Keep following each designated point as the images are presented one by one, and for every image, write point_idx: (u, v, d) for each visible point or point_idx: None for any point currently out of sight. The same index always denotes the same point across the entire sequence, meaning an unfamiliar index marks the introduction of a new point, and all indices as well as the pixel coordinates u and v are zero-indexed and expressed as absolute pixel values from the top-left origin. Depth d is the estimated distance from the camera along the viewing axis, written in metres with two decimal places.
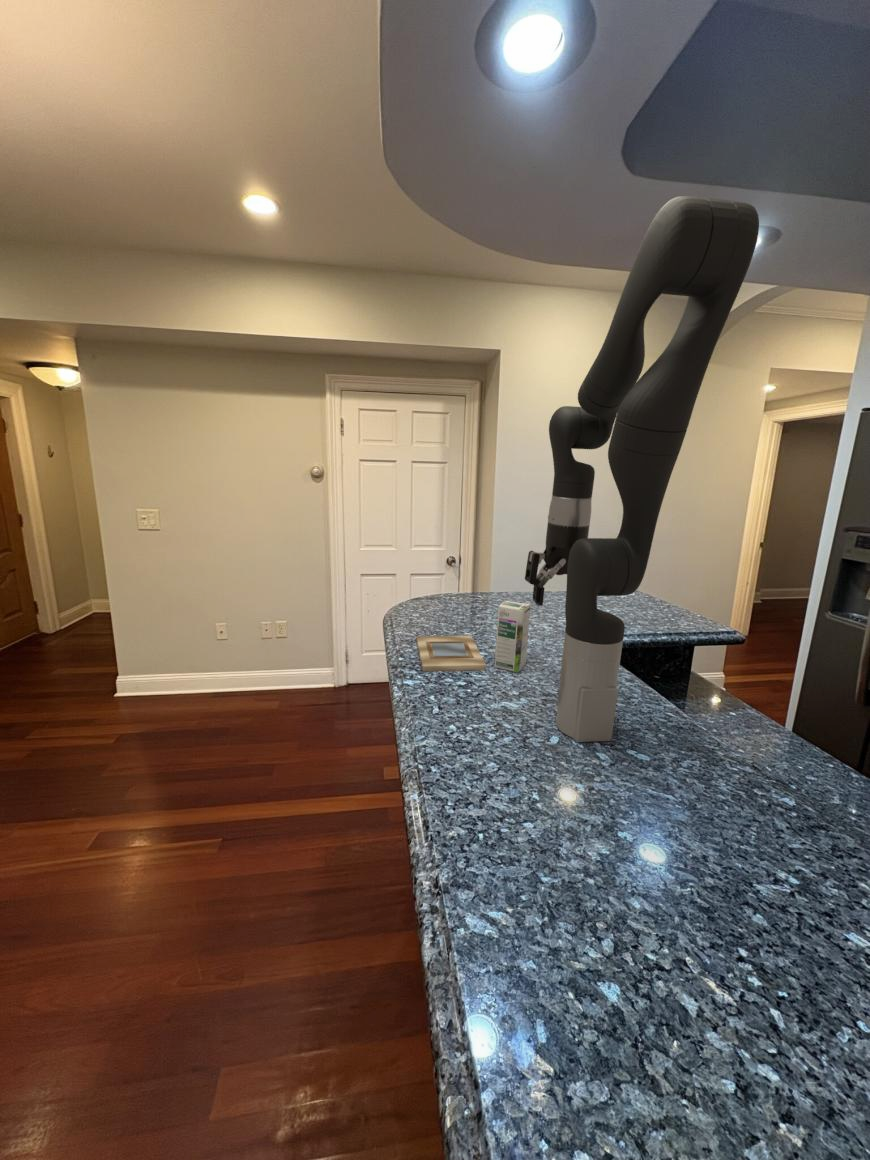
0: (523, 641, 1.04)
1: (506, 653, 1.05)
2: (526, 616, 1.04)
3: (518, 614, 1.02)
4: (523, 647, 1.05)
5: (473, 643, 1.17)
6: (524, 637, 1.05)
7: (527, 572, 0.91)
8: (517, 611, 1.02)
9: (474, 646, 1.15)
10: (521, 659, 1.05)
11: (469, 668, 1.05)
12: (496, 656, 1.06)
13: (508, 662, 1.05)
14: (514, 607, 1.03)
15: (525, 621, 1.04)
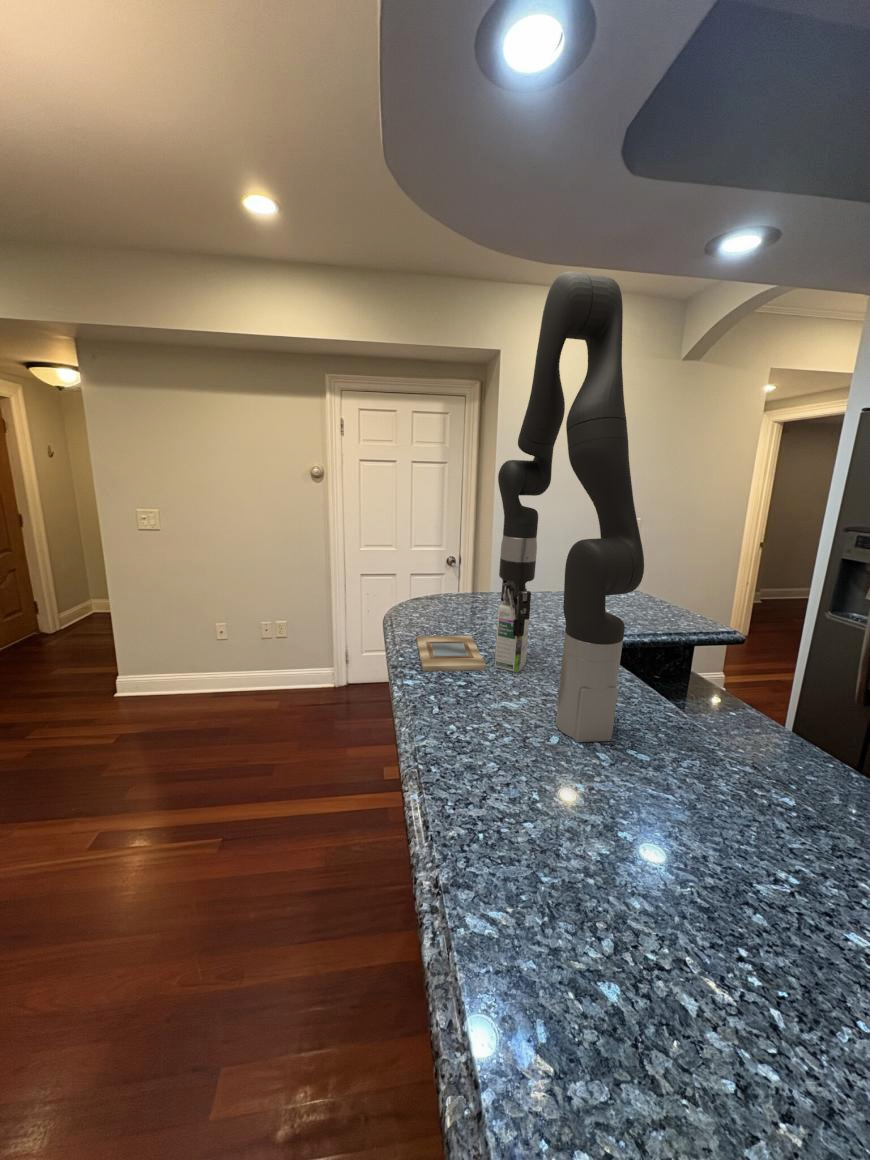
0: (523, 641, 1.04)
1: (506, 653, 1.05)
2: None
3: None
4: (523, 647, 1.05)
5: (473, 643, 1.17)
6: (524, 637, 1.05)
7: None
8: None
9: (474, 646, 1.15)
10: (521, 659, 1.05)
11: (469, 668, 1.05)
12: (496, 656, 1.06)
13: (508, 662, 1.05)
14: None
15: (525, 621, 1.04)
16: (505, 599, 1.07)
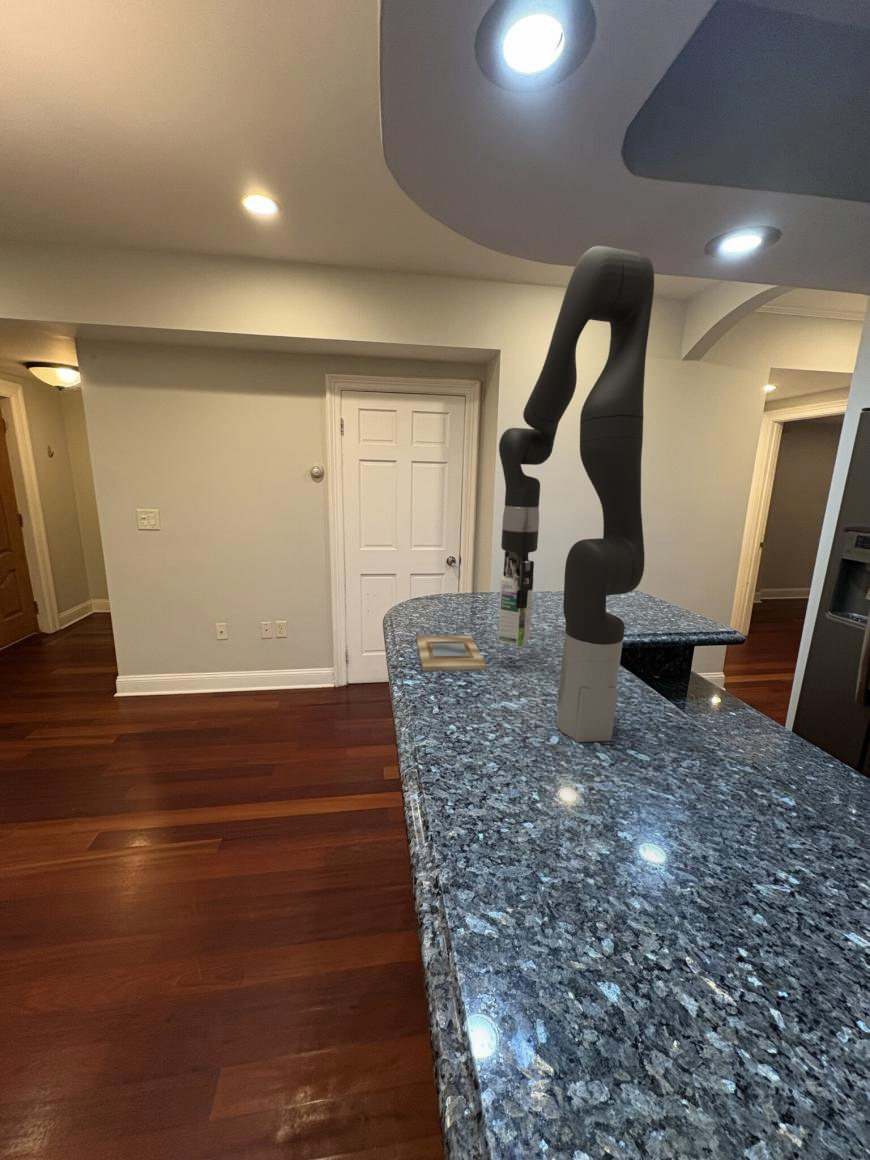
0: (526, 614, 1.03)
1: (509, 627, 1.03)
2: None
3: None
4: (526, 621, 1.03)
5: (473, 643, 1.17)
6: (527, 610, 1.03)
7: None
8: None
9: (474, 646, 1.15)
10: (525, 633, 1.03)
11: (469, 668, 1.05)
12: (499, 630, 1.04)
13: (511, 636, 1.03)
14: None
15: (528, 594, 1.02)
16: (508, 573, 1.05)
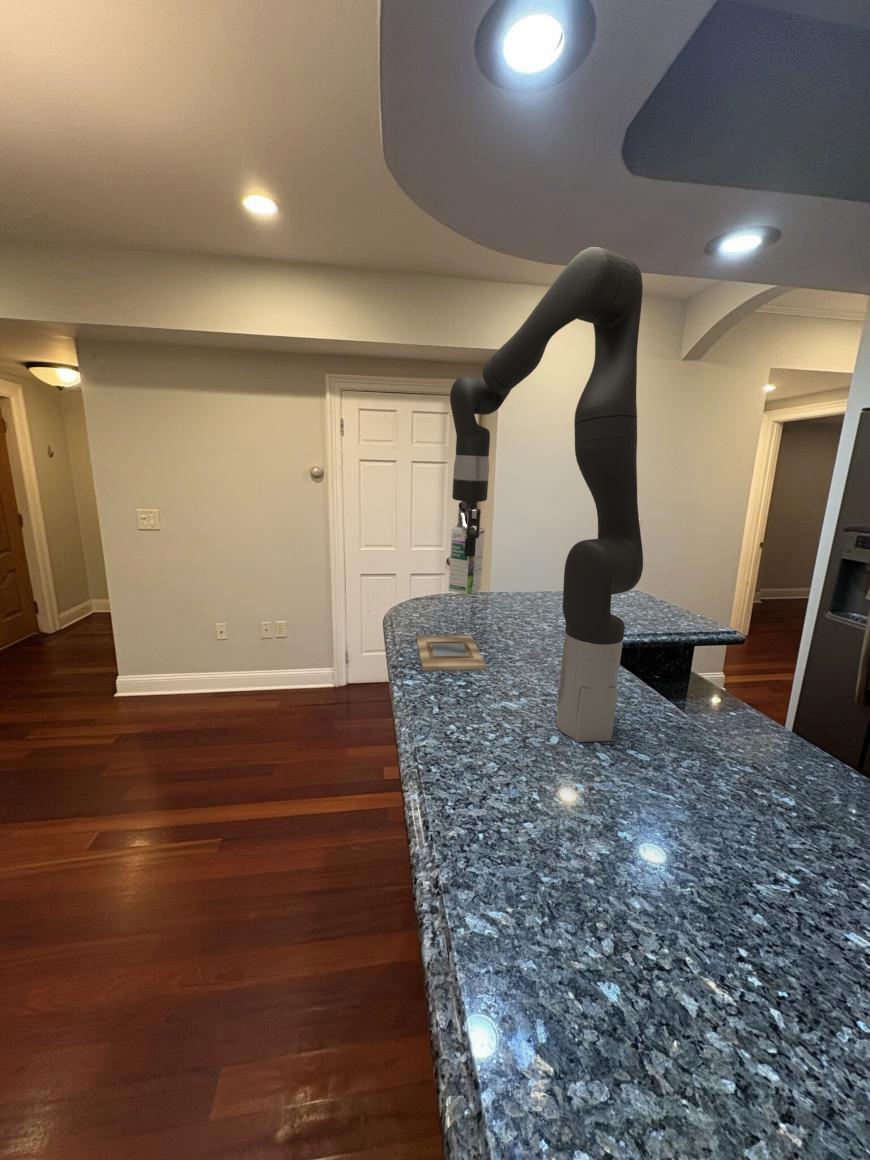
0: (476, 563, 1.05)
1: (459, 575, 1.05)
2: (479, 538, 1.04)
3: None
4: (476, 570, 1.06)
5: (473, 643, 1.17)
6: (477, 560, 1.05)
7: (469, 529, 0.98)
8: None
9: (474, 646, 1.15)
10: (474, 581, 1.06)
11: (469, 668, 1.05)
12: (450, 579, 1.07)
13: (461, 584, 1.06)
14: None
15: (478, 543, 1.04)
16: (460, 523, 1.08)
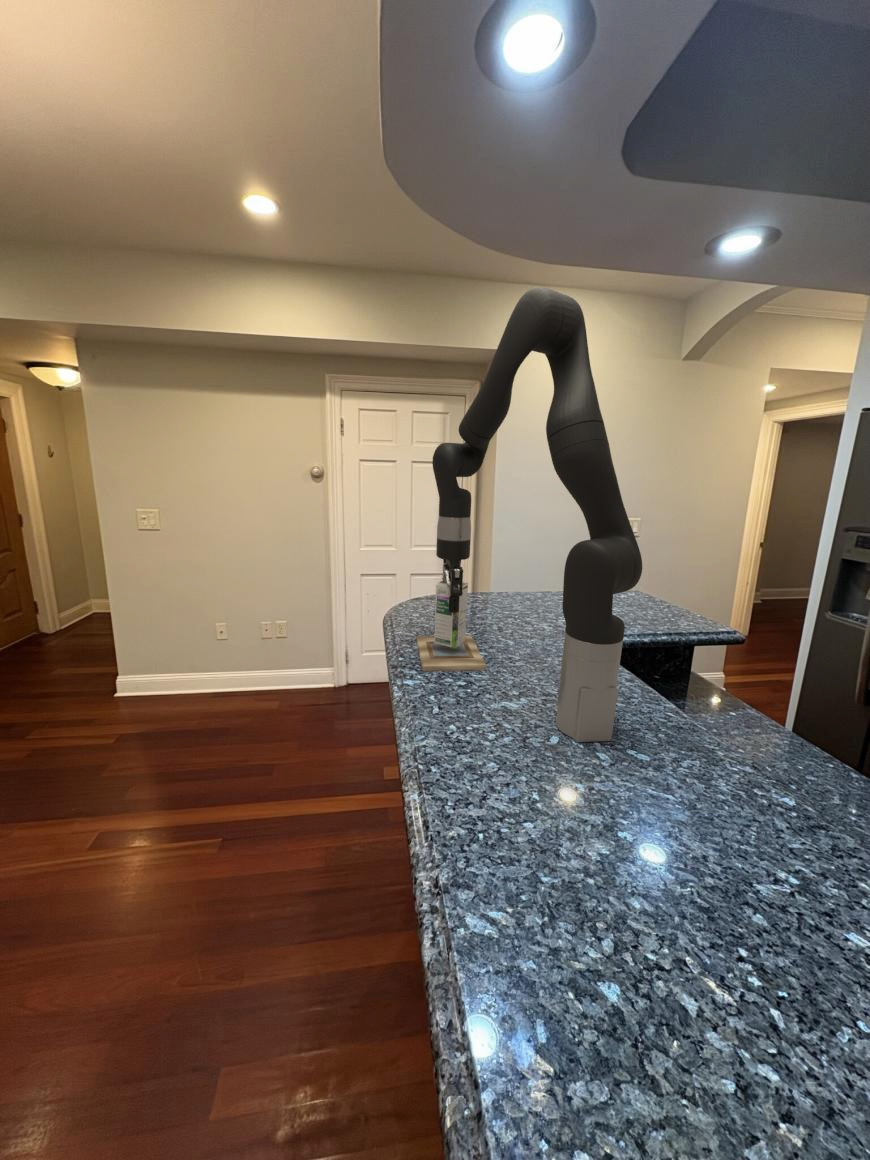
0: (460, 618, 1.09)
1: (444, 629, 1.09)
2: (463, 594, 1.08)
3: None
4: (460, 624, 1.09)
5: (473, 643, 1.17)
6: (461, 614, 1.09)
7: None
8: (453, 589, 1.06)
9: (474, 646, 1.15)
10: (459, 635, 1.09)
11: (469, 668, 1.05)
12: (435, 632, 1.10)
13: (446, 638, 1.09)
14: None
15: (461, 598, 1.08)
16: (444, 578, 1.11)
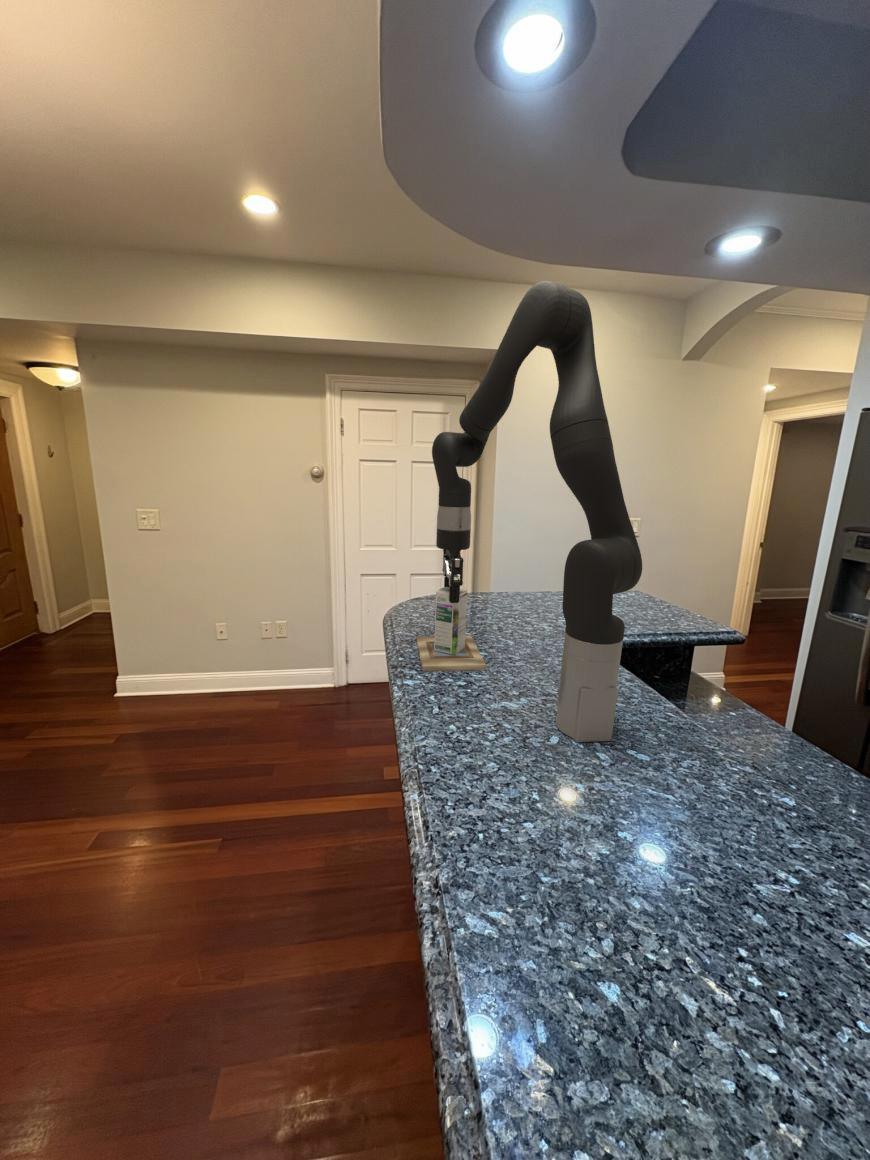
0: (460, 625, 1.09)
1: (444, 636, 1.09)
2: (462, 601, 1.09)
3: None
4: (460, 631, 1.10)
5: (473, 643, 1.17)
6: (461, 621, 1.10)
7: None
8: None
9: (474, 646, 1.15)
10: (459, 642, 1.10)
11: (469, 668, 1.05)
12: (435, 640, 1.11)
13: (446, 645, 1.10)
14: None
15: (461, 606, 1.09)
16: (444, 569, 1.11)
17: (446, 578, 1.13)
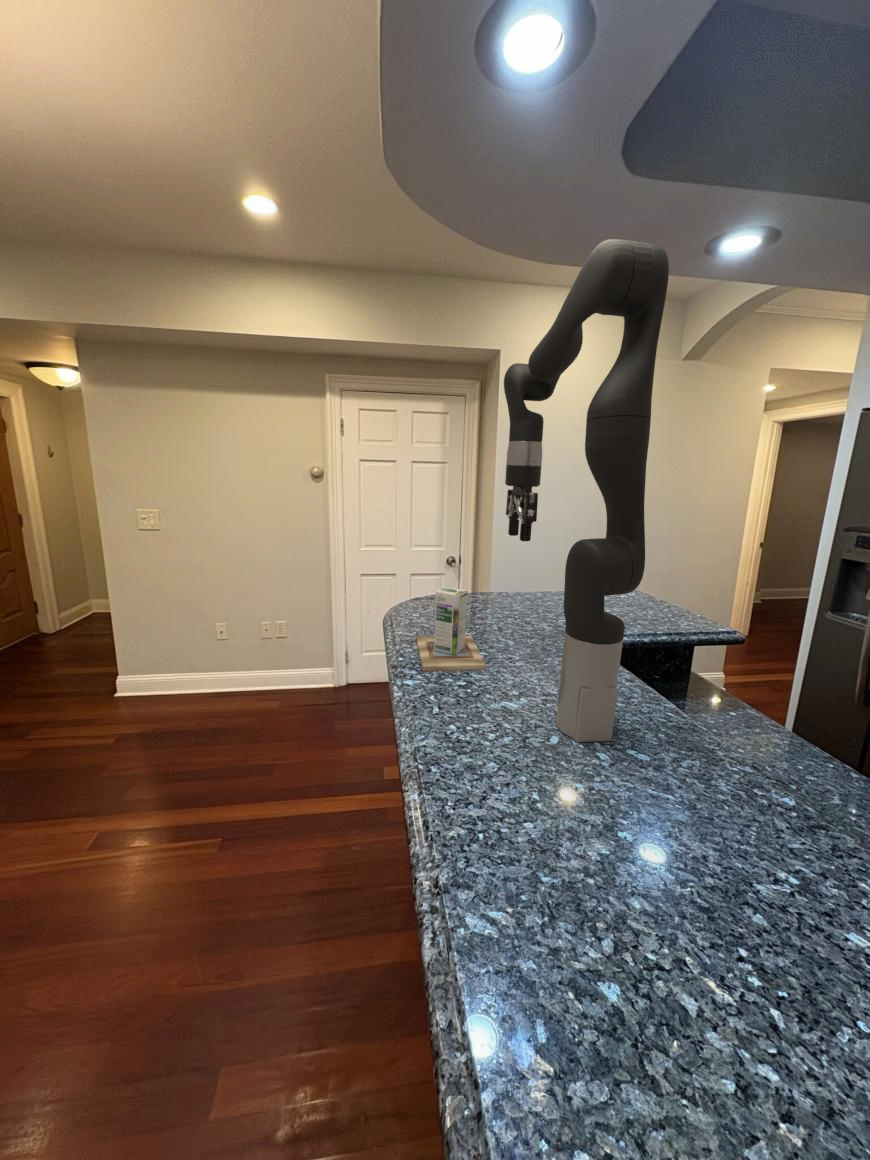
0: (460, 625, 1.09)
1: (444, 636, 1.09)
2: (462, 601, 1.09)
3: (454, 598, 1.07)
4: (460, 631, 1.10)
5: (473, 643, 1.17)
6: (461, 621, 1.10)
7: None
8: (453, 596, 1.07)
9: (474, 646, 1.15)
10: (459, 642, 1.10)
11: (469, 668, 1.05)
12: (435, 640, 1.11)
13: (446, 645, 1.10)
14: (450, 592, 1.08)
15: (461, 606, 1.09)
16: (511, 510, 1.09)
17: (511, 520, 1.10)
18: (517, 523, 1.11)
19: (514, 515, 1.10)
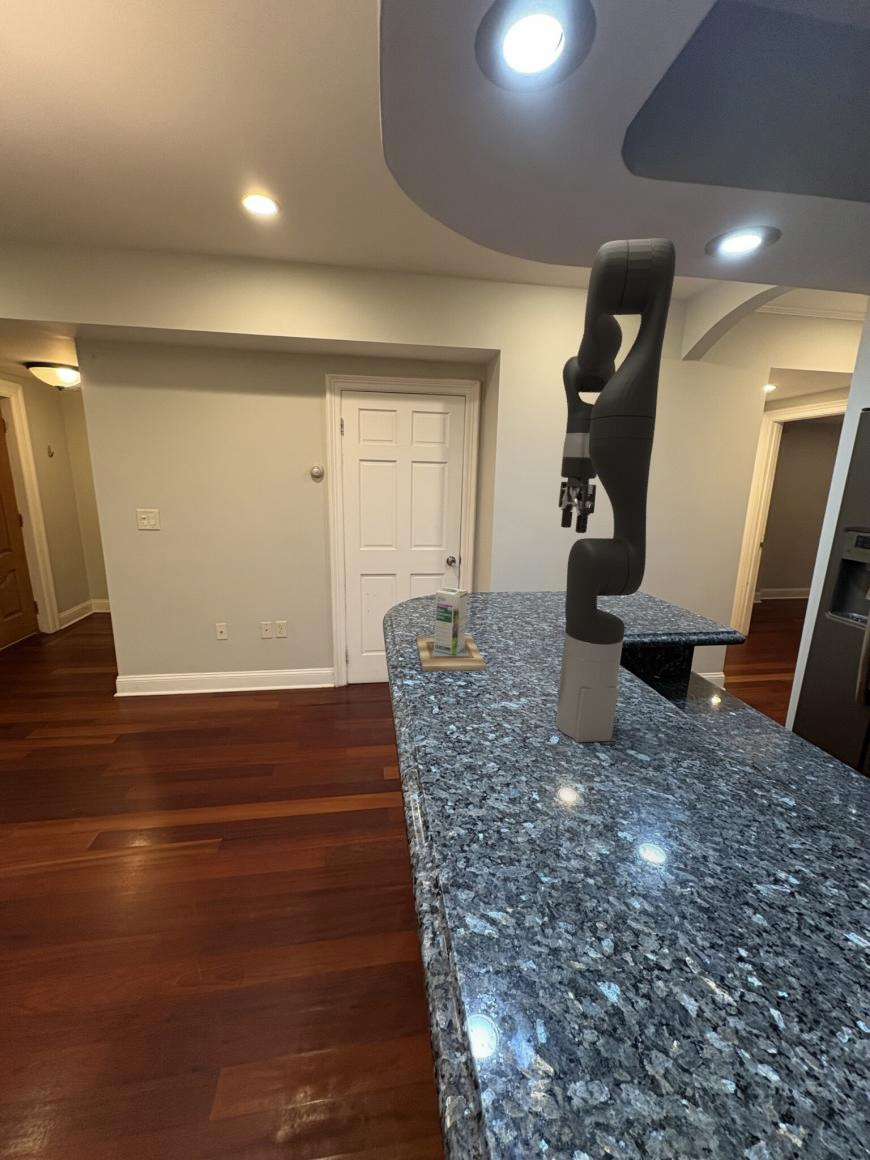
0: (460, 625, 1.09)
1: (444, 636, 1.09)
2: (462, 601, 1.09)
3: (454, 598, 1.07)
4: (460, 631, 1.10)
5: (473, 643, 1.17)
6: (461, 621, 1.10)
7: None
8: (453, 596, 1.07)
9: (474, 646, 1.15)
10: (459, 642, 1.10)
11: (469, 668, 1.05)
12: (435, 640, 1.11)
13: (446, 645, 1.10)
14: (450, 592, 1.08)
15: (461, 606, 1.09)
16: (565, 502, 1.09)
17: (565, 512, 1.11)
18: (570, 515, 1.11)
19: (567, 507, 1.11)
